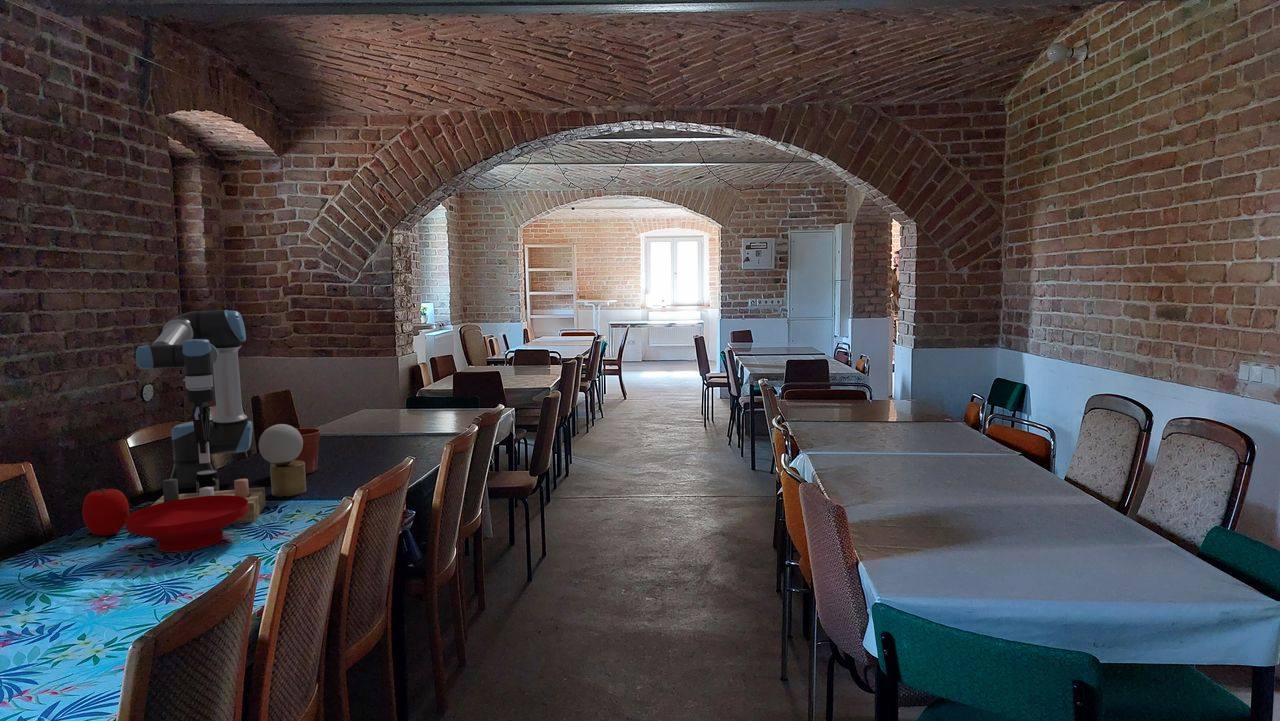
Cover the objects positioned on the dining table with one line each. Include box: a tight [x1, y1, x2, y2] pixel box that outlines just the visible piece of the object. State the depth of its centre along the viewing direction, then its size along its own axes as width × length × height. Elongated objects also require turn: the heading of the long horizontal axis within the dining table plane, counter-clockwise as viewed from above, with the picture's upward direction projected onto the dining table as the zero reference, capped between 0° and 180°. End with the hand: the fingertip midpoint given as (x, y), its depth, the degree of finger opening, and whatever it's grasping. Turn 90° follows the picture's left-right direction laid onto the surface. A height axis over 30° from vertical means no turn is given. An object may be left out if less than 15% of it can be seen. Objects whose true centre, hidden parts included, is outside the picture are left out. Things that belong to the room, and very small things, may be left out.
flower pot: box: [294, 427, 322, 475], centre depth 305 cm, size 16×16×16 cm
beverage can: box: [195, 469, 220, 493], centre depth 257 cm, size 7×7×12 cm
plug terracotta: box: [233, 478, 249, 498], centre depth 247 cm, size 4×4×9 cm
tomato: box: [81, 487, 130, 537], centre depth 230 cm, size 13×11×14 cm
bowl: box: [124, 495, 249, 553], centre depth 220 cm, size 30×30×10 cm
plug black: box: [162, 478, 179, 502], centre depth 241 cm, size 4×4×9 cm
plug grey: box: [199, 487, 214, 497], centre depth 245 cm, size 4×4×9 cm
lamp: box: [258, 423, 307, 498], centre depth 271 cm, size 15×14×25 cm
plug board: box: [150, 486, 267, 525], centre depth 245 cm, size 20×30×6 cm, turn 107°
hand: (204, 462), depth 244 cm, fingers closed
